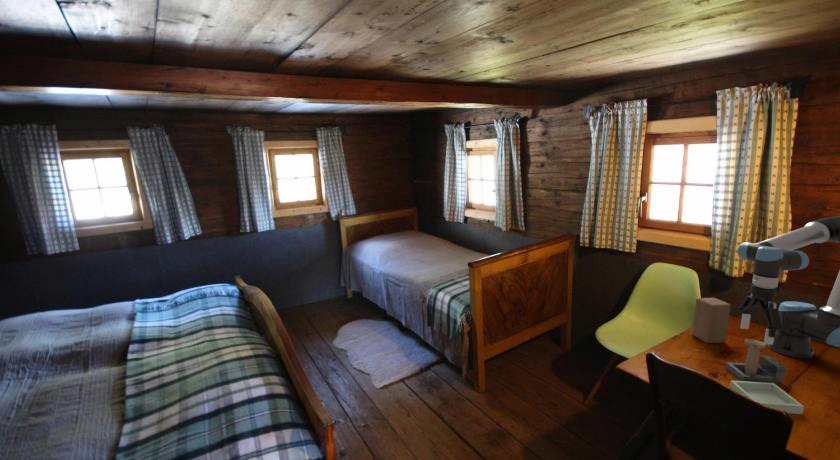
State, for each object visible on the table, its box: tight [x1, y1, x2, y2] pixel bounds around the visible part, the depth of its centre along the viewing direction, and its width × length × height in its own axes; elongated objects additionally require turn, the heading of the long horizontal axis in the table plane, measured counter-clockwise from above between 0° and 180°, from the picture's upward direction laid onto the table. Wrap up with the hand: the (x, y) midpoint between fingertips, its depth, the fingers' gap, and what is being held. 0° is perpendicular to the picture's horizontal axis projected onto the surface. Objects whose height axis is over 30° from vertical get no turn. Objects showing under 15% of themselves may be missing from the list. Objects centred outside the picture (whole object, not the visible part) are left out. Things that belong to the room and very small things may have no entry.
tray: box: [729, 380, 805, 415], centre depth 141 cm, size 15×14×3 cm
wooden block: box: [691, 297, 732, 344], centre depth 186 cm, size 10×10×20 cm
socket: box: [725, 355, 787, 385], centre depth 156 cm, size 15×11×7 cm
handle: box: [744, 338, 767, 375], centre depth 155 cm, size 5×6×15 cm
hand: (755, 336), depth 153 cm, fingers open, 13 cm apart
